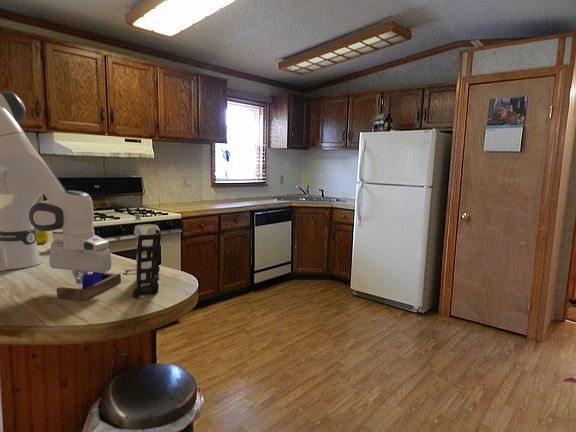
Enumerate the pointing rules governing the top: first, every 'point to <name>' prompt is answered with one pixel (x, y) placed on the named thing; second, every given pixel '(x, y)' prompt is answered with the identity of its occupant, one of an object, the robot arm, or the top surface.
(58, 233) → the teacup with lid
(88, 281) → the cable clip
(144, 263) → the water bottle
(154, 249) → the holder
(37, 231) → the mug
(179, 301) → the top surface
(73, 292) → the bracket
